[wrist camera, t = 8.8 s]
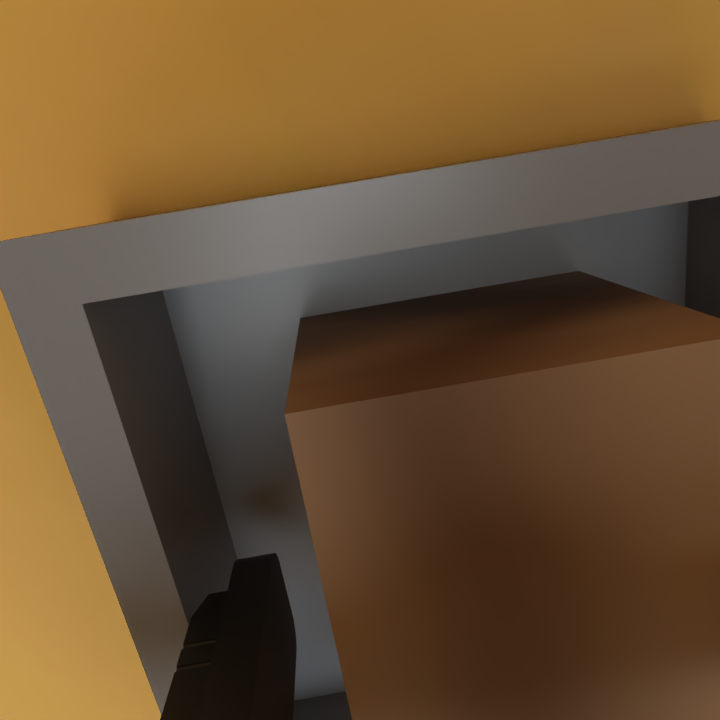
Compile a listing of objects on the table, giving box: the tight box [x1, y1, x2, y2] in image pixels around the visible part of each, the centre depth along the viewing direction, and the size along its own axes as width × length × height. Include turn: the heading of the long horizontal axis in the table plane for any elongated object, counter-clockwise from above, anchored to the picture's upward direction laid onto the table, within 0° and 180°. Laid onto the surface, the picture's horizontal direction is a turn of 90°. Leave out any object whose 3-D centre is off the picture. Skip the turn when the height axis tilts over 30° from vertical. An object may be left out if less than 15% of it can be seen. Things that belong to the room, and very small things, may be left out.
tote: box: [0, 120, 720, 720], centre depth 12 cm, size 13×14×4 cm
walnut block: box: [285, 271, 720, 720], centre depth 10 cm, size 6×9×5 cm, turn 9°
